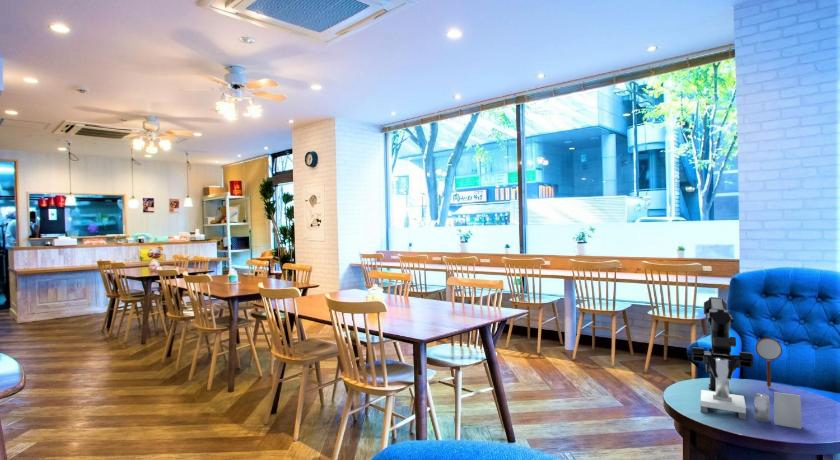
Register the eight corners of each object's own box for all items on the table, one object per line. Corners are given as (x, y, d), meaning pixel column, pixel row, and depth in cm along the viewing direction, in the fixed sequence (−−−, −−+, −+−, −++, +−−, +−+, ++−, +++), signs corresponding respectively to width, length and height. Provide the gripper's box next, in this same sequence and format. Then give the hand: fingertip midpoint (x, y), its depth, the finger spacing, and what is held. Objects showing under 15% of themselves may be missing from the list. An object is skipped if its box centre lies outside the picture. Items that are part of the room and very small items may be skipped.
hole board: (701, 400, 176) (701, 389, 176) (743, 406, 169) (743, 395, 169) (700, 411, 164) (700, 400, 164) (746, 419, 158) (745, 407, 158)
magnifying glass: (756, 387, 188) (755, 337, 188) (755, 386, 190) (754, 336, 190) (783, 390, 184) (782, 339, 184) (781, 389, 186) (781, 338, 186)
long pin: (720, 393, 169) (720, 356, 169) (731, 396, 166) (731, 359, 166) (713, 394, 168) (712, 358, 168) (724, 398, 164) (724, 361, 164)
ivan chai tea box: (801, 429, 150) (801, 397, 150) (774, 424, 153) (774, 393, 153) (800, 425, 153) (799, 394, 153) (774, 420, 157) (773, 390, 156)
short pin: (754, 416, 160) (753, 392, 160) (768, 418, 158) (768, 394, 158) (755, 420, 157) (754, 396, 157) (770, 422, 155) (769, 398, 155)
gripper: (691, 325, 175) (691, 362, 165) (752, 330, 165) (756, 370, 156) (691, 341, 181) (691, 378, 172) (750, 347, 172) (754, 386, 163)
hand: (722, 378), depth 165 cm, fingers closed on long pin, 4 cm apart
